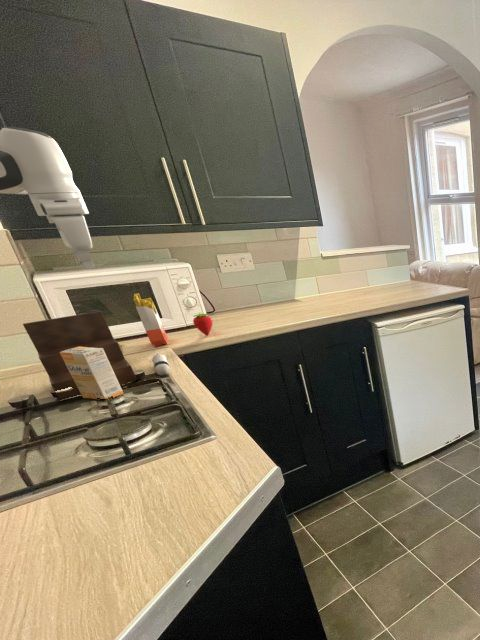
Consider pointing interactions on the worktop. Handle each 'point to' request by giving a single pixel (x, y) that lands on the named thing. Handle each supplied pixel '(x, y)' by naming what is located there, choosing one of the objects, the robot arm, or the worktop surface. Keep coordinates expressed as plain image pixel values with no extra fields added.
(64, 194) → the robot arm
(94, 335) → the step shelf
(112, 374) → the supplement box
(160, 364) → the torpedo
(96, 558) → the worktop surface
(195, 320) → the strawberry
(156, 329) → the french fries container
